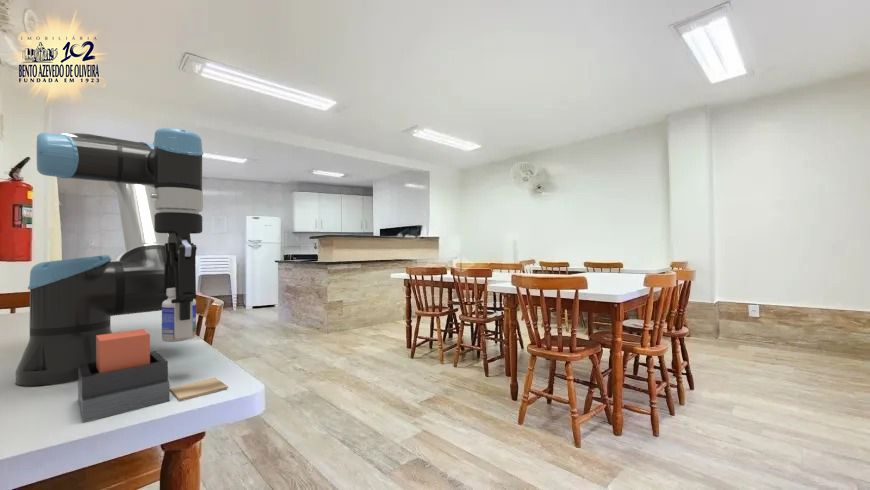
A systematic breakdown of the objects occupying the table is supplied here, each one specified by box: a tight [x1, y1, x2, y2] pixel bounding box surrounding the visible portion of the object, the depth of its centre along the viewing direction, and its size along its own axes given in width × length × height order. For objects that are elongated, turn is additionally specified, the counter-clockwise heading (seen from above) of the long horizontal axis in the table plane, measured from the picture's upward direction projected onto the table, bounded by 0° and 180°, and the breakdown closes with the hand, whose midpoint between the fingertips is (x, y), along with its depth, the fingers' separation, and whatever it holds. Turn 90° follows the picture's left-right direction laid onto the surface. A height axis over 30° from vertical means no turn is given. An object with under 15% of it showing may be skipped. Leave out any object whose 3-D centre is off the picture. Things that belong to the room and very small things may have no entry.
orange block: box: [96, 328, 151, 373], centre depth 59 cm, size 6×6×5 cm
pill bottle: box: [161, 287, 197, 343], centre depth 71 cm, size 5×5×10 cm
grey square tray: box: [77, 350, 171, 423], centre depth 59 cm, size 12×10×6 cm
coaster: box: [170, 377, 229, 402], centre depth 63 cm, size 7×7×1 cm
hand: (179, 334), depth 71 cm, fingers closed on pill bottle, 5 cm apart
